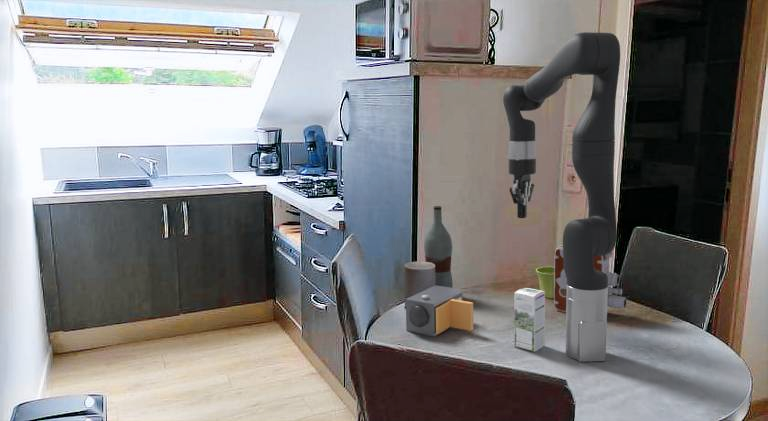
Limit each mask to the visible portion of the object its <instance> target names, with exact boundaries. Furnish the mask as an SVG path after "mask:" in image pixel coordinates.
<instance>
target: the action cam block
mask: <svg viewBox="0 0 768 421" xmlns="http://www.w3.org/2000/svg"><path fill="white" fill-rule="evenodd" d="M463 293H464V290H463V289H461V288H456V287H452V288H450V287H443V286H437V285H435V286H433V287H431V288H428V289H426V290H424V291H422V292H420V293H418V294H416V295H413V296H411V297H409V298H407V299H406V309H405V314H406V315H405V321H406V322H405V324H406V330H407V332H411V333H416V334H420V335H425V336H430V337H433V338H434V337H437V336H438V335H440V334H441V333H443V332H445V331H446V330H448V329H450V328H451V327H449V328H447V329H445V330H444V331H442V332H440V333H439V334H436V308H437V307H439V306H441V305H443V304H444V303H446V302H448V301H450V300H451V299H456V300H462V301H463Z"/></svg>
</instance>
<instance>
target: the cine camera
mask: <svg viewBox="0 0 768 421" xmlns="http://www.w3.org/2000/svg"><path fill="white" fill-rule="evenodd" d="M610 258H613V251H612V252H611V253H609V254H607V255H602V256H597V257H593V262H594V269H595V270H598V271H602V272H604V273H605V274H606V275H607V276H608V298H607V309H608V307H609V308H613V309H626V308H627V302H628V301H627V298H626V297H625V296H622V294H623V288H615V287H616V286H619V285H620V281H621V280H620V277H621V276H620V275H619V274H618V273H616V272H610ZM553 261H554V264H553V267H554V298H553V302H554V309H556V311H558V312H563V313H566V296H567V278H566V275H565V271H564V260H563V244H562V245H560V244H559V245H558V246H557V248H556V249H555V250H554V260H553Z"/></svg>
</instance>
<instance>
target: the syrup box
mask: <svg viewBox="0 0 768 421" xmlns="http://www.w3.org/2000/svg"><path fill="white" fill-rule="evenodd" d="M513 297H514V300H513V303H514V316H513V317H514V322H513V323H514V324H513V325H514V328H513V329H514V340H513V341H514V347H515V348H518V349H522V350H526V351H528V352H533V353H535V352H537V351H539V350H540V349H542V348H543V347H545V345H546V344H545V342H546V341H545V340H546V339H545V337H546V336H545V333H546V332H545V326H546V325H545V324H546V323H545V320H546V319H545V313H546V311H545V310H546V309H545V308H546V297H545V291H541V290H540V289H535V288H530V287H522V288H520V289H518V290H516V291H515V292H514V295H513Z"/></svg>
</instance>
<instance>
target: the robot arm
mask: <svg viewBox="0 0 768 421" xmlns="http://www.w3.org/2000/svg"><path fill="white" fill-rule="evenodd" d="M620 65H621V46H620V42H619V39H618V37H617V36H616V34H614V33H611V32H593V31H592V32H578V33H576V34H574V35H573V36H571V37H570V38H569V39H567V40H566V42H565V43H564V44H563V45H562V46H561V47H560V49H559V50H558V51H557V52H556V53H555V54H554V56H553V57H551V59H550V61H549V62H548V63H547V64H546V65H545V66H544V67H543V68H541V69H540V70H538V71H537V72H535V73H534V74H533V75H531V76H529V78H528V79H527V80H526V81H525V82H524V85H522V84H521V85H519V84H518V85H515V84H513V85H510V86H508V87H507V88H506V89H505V90H504V92H503V97H502V102H503V107H504V111H505V113H506V118H507V121H508V122H507V123H508V127H509V146H508V174H510V175H512V176H513V182H512V187H509V193H510V196H511V199H512V201H513V204H514V205H516V206H517V207H516V208H517V209H516V210H517V211H516V212H517V216H516V217H517V218H518V219H525V218H527V217H528V216H527V209H528V204H529V203H530V202H531V199H532V196H533V192H534V188H535V184H534V183H532V178H531V175H535V174H536V173H537V147H536V123H535V121H534V120H532V119H527V118H525V117H523V116H522V113H521V112H532V111H535V110H538V109H540V108H541V107H542V105H543V103H544V102H545V101H546V99H548V98H550V97H551V96H552V95H554V94H556V93H558V91H559V90H560V89H561V88H562V87H563V84H564V82H565V78H566V77H569V76H574V75H581V76H586V75H587V76H588V75H589V76H592V78H593V84H592V90H591V96H590V98H589V102H588V104H587V105H586V107H585V109H584V111H583V113H582V114H581V116H580V118H579V119H578V121H577V123H576V125H575V127H574V129H573V132H572V138H571V139H572V140H571V141H572V142H571V145H572V146H571V160H572V165H573V168H574V170H575V173H576V174H577V177H578V178H579V180H580V182H581V184H582V185H583V188H584V190H585V192H586V195H587V201H588V202H587V203H588V216H587V217H588V218H587V217H586V218H585V217H584V218H578V219H574V220H570V221H569V222H567V223H566V225H565V227H564V230H563V235H562V245H563V260H564V271H565V275H566V278H567V296H566V312H565V354H566V356H568V357H570V358H572V359H575V360H577V361H579V362H582V363H584V362H605V361H606V358H607V357H606V356H607V330H608V329H607V328H608V324H607V323H608V322H607V321H608V308H607V298H608V276H607V275H606V274H605V273H604V272H602V271H598V270H595V269H594V262H593V257H597V256H602V255H607V254H609V253H611V252H612V253H613V250H614V249H615V247H616V245H617V240H618V228H617V226H618V225H617V215H616V204H615V175H614V174H615V173H614V172H615V155H616V154H615V152H616V150H615V149H616V148H615V146H616V141H615V140H616V138H615V135H616V133H615V132H616V131H615V130H616V129H615V127H616V126H615V124H616V101H617V100H616V99H617V88H618V83H619V82H618V80H619V74H620Z"/></svg>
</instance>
